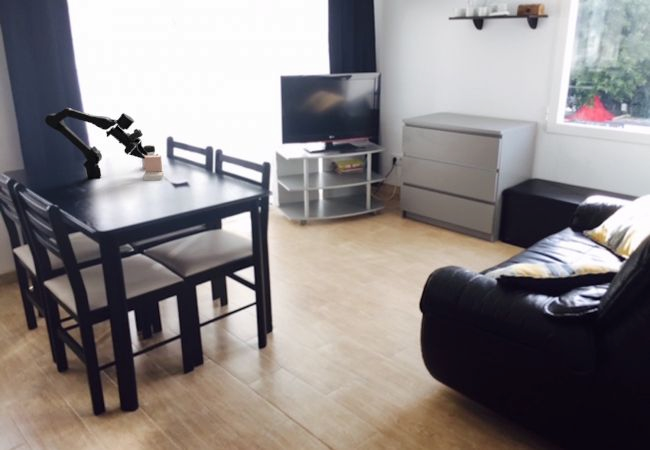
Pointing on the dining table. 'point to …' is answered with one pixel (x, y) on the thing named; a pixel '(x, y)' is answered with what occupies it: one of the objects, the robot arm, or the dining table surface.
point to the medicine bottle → (149, 152)
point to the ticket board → (153, 175)
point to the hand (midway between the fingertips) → (146, 156)
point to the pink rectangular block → (153, 163)
